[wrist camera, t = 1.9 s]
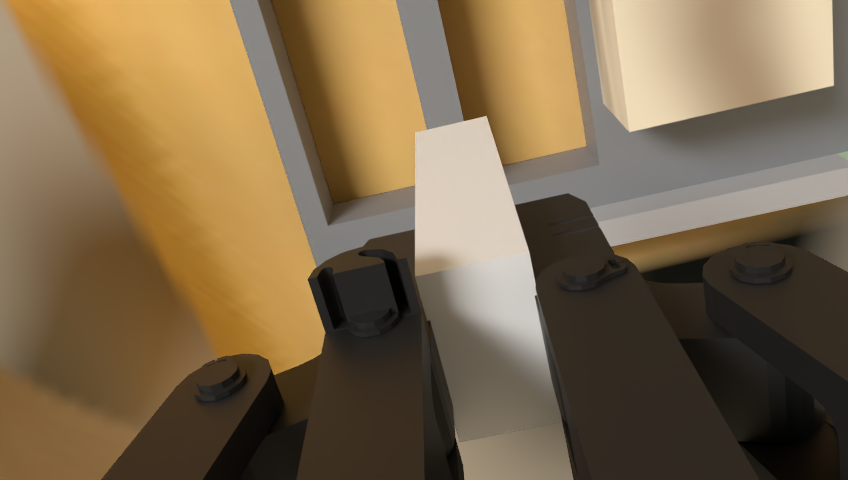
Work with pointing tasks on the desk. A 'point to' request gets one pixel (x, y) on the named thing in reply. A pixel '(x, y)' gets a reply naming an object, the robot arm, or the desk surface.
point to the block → (707, 55)
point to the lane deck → (584, 167)
